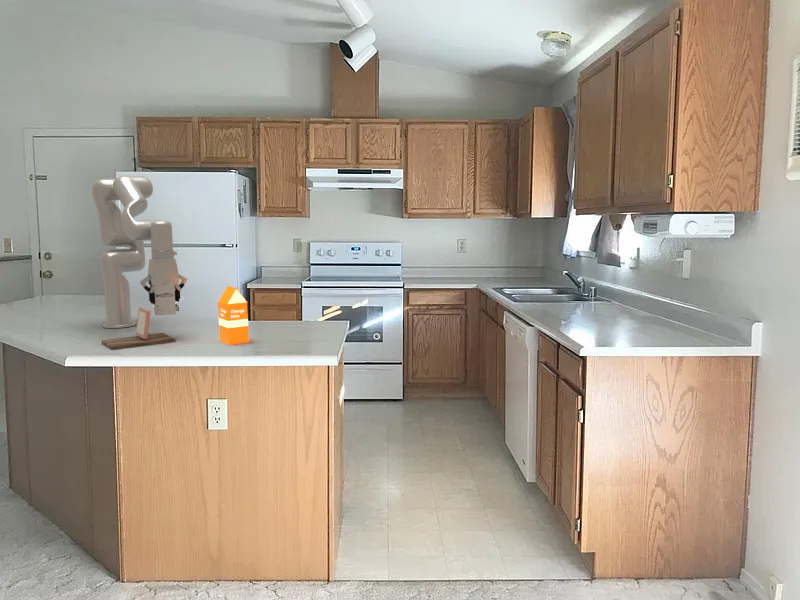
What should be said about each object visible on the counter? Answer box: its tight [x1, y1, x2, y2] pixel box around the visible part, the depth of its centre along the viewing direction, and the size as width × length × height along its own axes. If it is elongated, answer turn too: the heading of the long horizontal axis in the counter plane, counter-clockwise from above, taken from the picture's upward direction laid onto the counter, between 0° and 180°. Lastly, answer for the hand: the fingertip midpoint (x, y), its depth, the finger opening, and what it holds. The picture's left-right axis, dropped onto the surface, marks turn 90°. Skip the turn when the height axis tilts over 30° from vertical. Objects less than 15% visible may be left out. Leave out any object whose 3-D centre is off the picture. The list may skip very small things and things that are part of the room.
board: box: [100, 332, 176, 351], centre depth 243 cm, size 14×22×1 cm, turn 127°
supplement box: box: [153, 281, 177, 316], centre depth 249 cm, size 7×7×13 cm
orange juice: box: [217, 285, 250, 346], centre depth 243 cm, size 8×9×20 cm
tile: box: [135, 307, 152, 339], centre depth 244 cm, size 10×10×1 cm
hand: (165, 302), depth 248 cm, fingers closed on supplement box, 8 cm apart
